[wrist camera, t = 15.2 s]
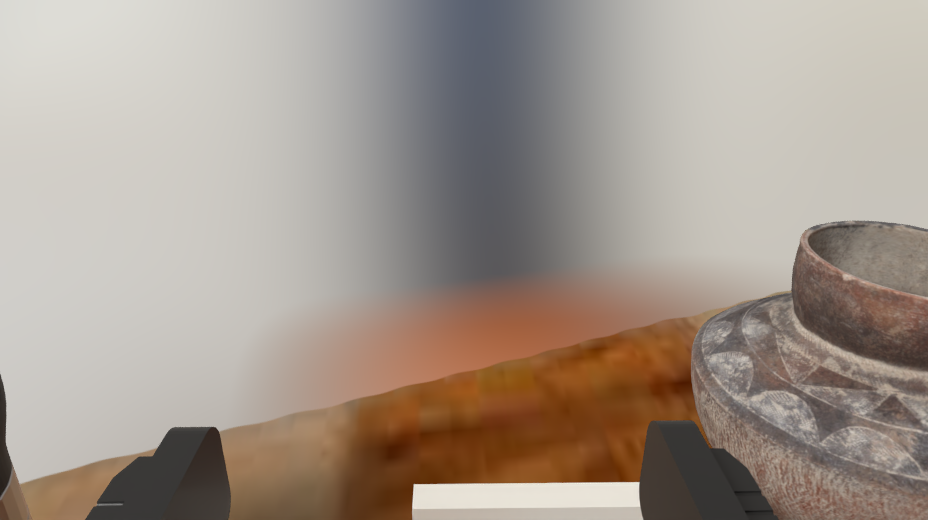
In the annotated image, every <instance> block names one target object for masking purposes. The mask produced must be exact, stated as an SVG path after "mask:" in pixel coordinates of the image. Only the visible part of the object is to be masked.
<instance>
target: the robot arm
mask: <svg viewBox="0 0 928 520" xmlns="http://www.w3.org/2000/svg"><path fill="white" fill-rule="evenodd" d="M5 436H6V398H5V392H4V386H3V382H2V379H1V375H0V520H32V517H31V515H30V512H29V509H28V506H27V504H26V501H25V498H24V495H23V493H22V490H21V487H20V484H19V481H18V479H17V476H16V473H15V470H14V467H13V465H12V462H11V459H10V456H9V453H8V450H7V446H6V437H5ZM639 500H640V508H641V513H642V517H643V520H779V519H778V517H777V516H776V515H774V514H773V509H772V507H771V506H770V504H769V503H768V501H767V499H766V498H765V496H762V494H761V490H760V488H759V486H758V485H757V483H756V481H755V480H754V478H753V477H752V475H751V473H750V472H749V470H748V468H747V467H745V466H744V465H743V464H742V463H741V462H740V461H738V460H737V459H736V458H735V457H734V456H732V455H731V454H730V453H729V452H728V451H726V450H725V449H724V448H709V447H708V445H707V443H706V441H705V440H704V438H703V436H702V434H701V432H700V431H699V429H698V427H697V425H696V424H695V423H694V422H693V421H651V422H650V424H649V426H648V430H647V436H646V443H645V450H644V456H643V463H642V469H641V476H640V483H639ZM230 502H231V495H230V487H229V481H228V476H227V471H226V465H225V460H224V455H223V449H222V444H221V438H220V434H219V431H218V430H217V429H216V428H215V427H174V428H172V429H170V430H169V431H168V433H167V434H166V436H165V437H164V439H163V440H162V442H161V444H160V445H159V447H158V448H157V450H156V452H155V453H154V455H153V456H152V457H138V458H137V459H136V460H134V461H133V462H132V463H131V464H129V465H128V466H127V467H126V468H125V469H123V470H122V471H121V472H120V473H118V474H117V475H116V476H115V477H114V478H113V479H112V480H111V482H110V483H109V485H108V486H107V488H106V489H105V491H104V492H103V494H102V495H101V497H100V498H99V500H98V501H97V506H96V507H93V509H92V510H91V512H90V513H89V515H88V516H87V518H86V519H85V520H228V518H229V512H230Z"/></svg>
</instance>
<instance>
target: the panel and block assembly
mask: <svg viewBox="0 0 928 520" xmlns="http://www.w3.org/2000/svg"><path fill="white" fill-rule="evenodd" d="M639 483H640V482H611V483H502V484H414V491H413V504H412V519H413V520H643V517H642V513H641V508H640V500H639Z"/></svg>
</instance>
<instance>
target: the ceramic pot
mask: <svg viewBox="0 0 928 520" xmlns="http://www.w3.org/2000/svg"><path fill="white" fill-rule="evenodd" d="M691 377H692V386H693V393H694V398H695V403H696V408H697V412H698V415H699V418H700V420H701V423H702V426H703V429H704V431H705V433H706V436H707V438H708V440H709V442H710V444H711V446H712V448H724V449H725V450H726V451H728V452H729V453H730V454H731V455H732V456H734V457H735V458H736V459H737V460H738V461H740V462H741V463H742V464H743V465H744V466H745V467H747V468H748V470H749V472H750V473H751V475H752V477H753V478H754V480H755V481H756V483H757V485H758V486H759V488H760V490H761V494H762V496H765V498H766V499H767V501H768V503H769V504H770V506H771V507H772V509H773V514H774V515H776V516H777V517H778V519H779V520H928V229H924V228H919V227H914V226H910V225H903V224H896V223H886V222H876V221H875V222H874V221H842V222H832V223H827V224H821V225H816V226H813V227H811V228H809V229H807V230H805V232H804V233H803V234H802V236H801V239H800V245H799V247H798V251H797V254H796V258H795V263H794V266H793V274H792V293H786V294H781V295H776V296H772V297H768V298H763V299H759V300H755V301H750V302H747V303H743V304H740V305H737V306H734V307H732V308H730V309H728V310H725V311H723V312H721V313H719V314H717V315H715V316H714V317H712V318H710V319H709V320H708V321H707V322H705V323H704V324H703V326H702V327H701V328H700V329H699V331H698V333H697V335H696V337H695V339H694V343H693V346H692V360H691Z"/></svg>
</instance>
